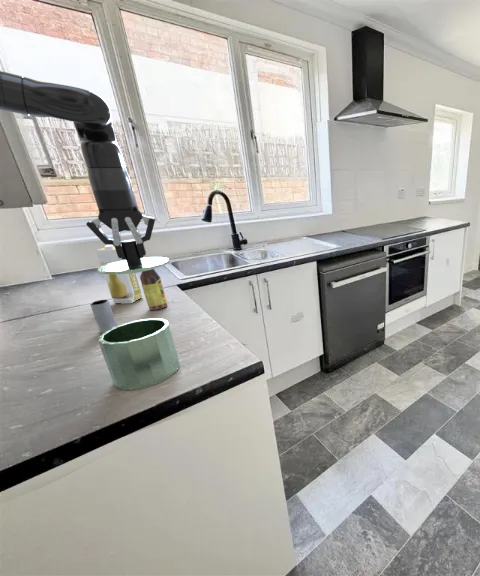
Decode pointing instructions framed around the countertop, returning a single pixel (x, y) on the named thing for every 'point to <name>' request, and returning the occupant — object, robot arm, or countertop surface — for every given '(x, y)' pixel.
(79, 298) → the countertop surface
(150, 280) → the sauce bottle
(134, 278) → the juice carton
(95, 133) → the robot arm
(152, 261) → the tin lid
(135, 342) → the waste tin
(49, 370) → the countertop surface
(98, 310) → the grey tube
